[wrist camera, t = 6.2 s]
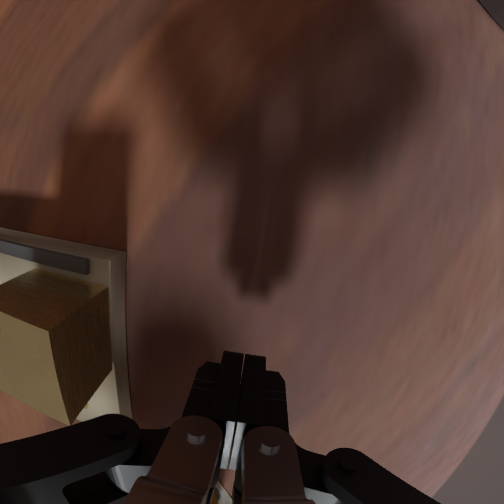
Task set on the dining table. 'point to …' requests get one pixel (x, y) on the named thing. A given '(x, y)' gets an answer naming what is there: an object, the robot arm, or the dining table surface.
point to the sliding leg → (53, 342)
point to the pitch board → (87, 269)
